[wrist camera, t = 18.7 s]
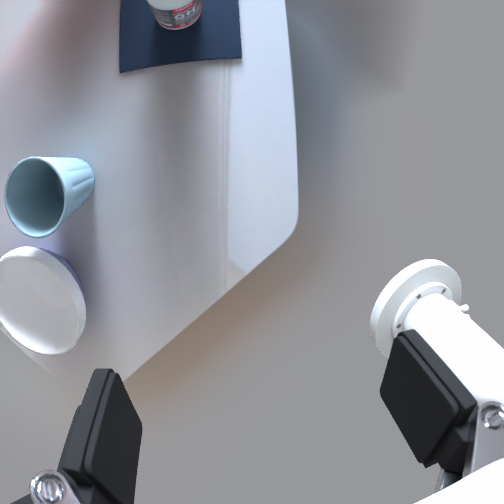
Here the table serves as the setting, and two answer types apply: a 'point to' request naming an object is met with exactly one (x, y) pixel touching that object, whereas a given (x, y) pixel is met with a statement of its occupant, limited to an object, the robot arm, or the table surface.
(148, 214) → the table surface
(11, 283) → the bowl
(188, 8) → the pill bottle
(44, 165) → the cup
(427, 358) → the robot arm
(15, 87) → the table surface
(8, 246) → the table surface
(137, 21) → the placemat
